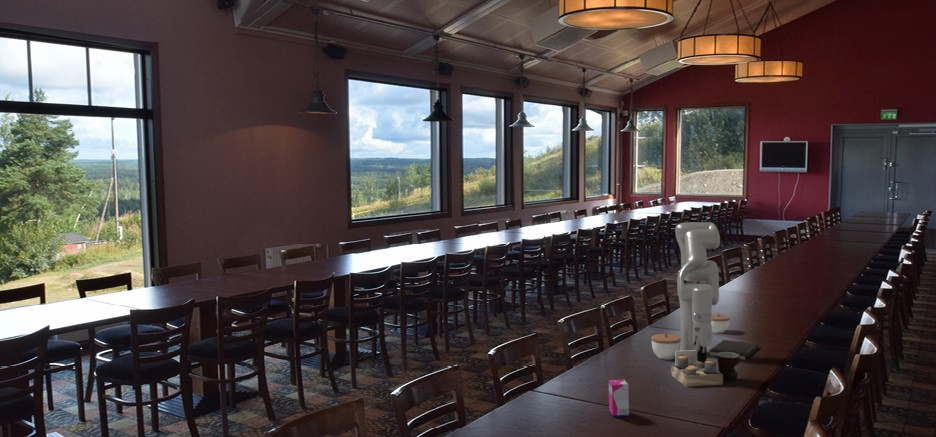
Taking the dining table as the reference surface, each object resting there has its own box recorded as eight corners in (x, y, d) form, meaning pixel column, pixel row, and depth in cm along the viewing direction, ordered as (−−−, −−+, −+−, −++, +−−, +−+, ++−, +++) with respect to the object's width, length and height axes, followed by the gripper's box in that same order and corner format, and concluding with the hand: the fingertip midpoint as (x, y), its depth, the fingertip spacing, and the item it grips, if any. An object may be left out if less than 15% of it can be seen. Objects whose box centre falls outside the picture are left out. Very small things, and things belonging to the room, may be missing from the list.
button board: (671, 375, 285) (671, 365, 285) (706, 373, 286) (706, 363, 286) (685, 386, 270) (685, 376, 270) (722, 384, 271) (722, 374, 271)
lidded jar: (732, 334, 349) (732, 315, 348) (711, 334, 349) (711, 316, 349) (725, 329, 360) (725, 311, 359) (704, 329, 360) (704, 311, 359)
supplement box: (624, 410, 246) (624, 379, 245) (629, 416, 240) (628, 384, 239) (608, 411, 246) (608, 379, 245) (612, 417, 240) (612, 384, 239)
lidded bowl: (681, 361, 304) (681, 337, 303) (652, 360, 306) (652, 336, 305) (679, 353, 316) (679, 330, 315) (650, 353, 318) (650, 329, 318)
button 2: (683, 379, 276) (683, 367, 275) (693, 378, 276) (693, 366, 276) (687, 382, 272) (687, 370, 271) (698, 381, 272) (698, 369, 272)
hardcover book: (708, 355, 314) (708, 350, 313) (723, 344, 332) (723, 339, 332) (745, 360, 304) (745, 355, 304) (758, 349, 323) (758, 344, 322)
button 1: (675, 368, 284) (675, 356, 283) (685, 367, 284) (685, 355, 284) (679, 371, 279) (679, 358, 279) (689, 370, 280) (689, 358, 279)
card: (675, 372, 289) (675, 351, 288) (696, 371, 289) (696, 350, 289) (675, 372, 288) (675, 351, 287) (696, 371, 289) (696, 350, 288)
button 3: (694, 372, 284) (694, 360, 284) (704, 371, 285) (704, 359, 284) (699, 375, 280) (699, 363, 280) (709, 374, 281) (709, 362, 280)
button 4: (703, 372, 276) (703, 360, 276) (713, 372, 277) (713, 359, 276) (707, 375, 272) (707, 363, 272) (717, 375, 272) (717, 362, 272)
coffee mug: (725, 383, 272) (725, 358, 272) (712, 377, 281) (712, 353, 280) (750, 380, 275) (751, 355, 275) (737, 374, 284) (737, 350, 283)
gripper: (703, 322, 272) (704, 367, 274) (717, 315, 284) (717, 359, 285) (685, 319, 277) (685, 364, 279) (699, 313, 289) (699, 356, 290)
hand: (701, 361), depth 282 cm, fingers closed
